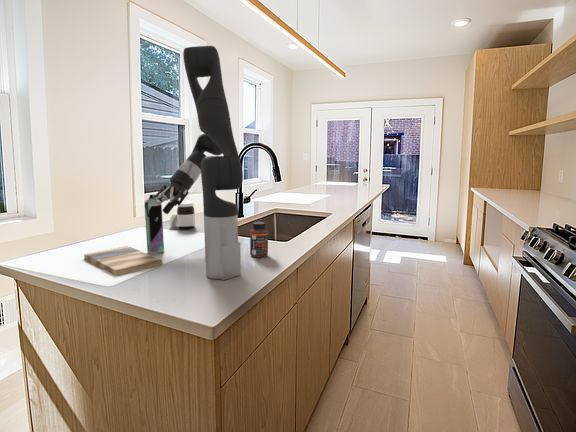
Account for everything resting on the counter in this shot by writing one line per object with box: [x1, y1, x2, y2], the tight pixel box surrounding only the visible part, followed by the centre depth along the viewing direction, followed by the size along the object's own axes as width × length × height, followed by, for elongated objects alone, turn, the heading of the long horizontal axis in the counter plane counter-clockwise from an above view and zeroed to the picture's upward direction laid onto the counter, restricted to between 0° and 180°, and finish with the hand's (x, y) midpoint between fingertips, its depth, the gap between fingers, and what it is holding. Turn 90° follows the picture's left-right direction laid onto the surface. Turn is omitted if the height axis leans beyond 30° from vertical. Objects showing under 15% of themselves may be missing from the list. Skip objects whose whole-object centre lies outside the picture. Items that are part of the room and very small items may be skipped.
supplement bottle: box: [249, 221, 269, 259], centre depth 123 cm, size 6×6×11 cm
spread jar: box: [168, 201, 196, 231], centre depth 167 cm, size 12×11×12 cm
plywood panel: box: [83, 245, 163, 276], centre depth 117 cm, size 24×14×2 cm, turn 48°
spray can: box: [143, 193, 165, 255], centre depth 127 cm, size 6×6×20 cm
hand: (158, 211), depth 128 cm, fingers open, 8 cm apart
